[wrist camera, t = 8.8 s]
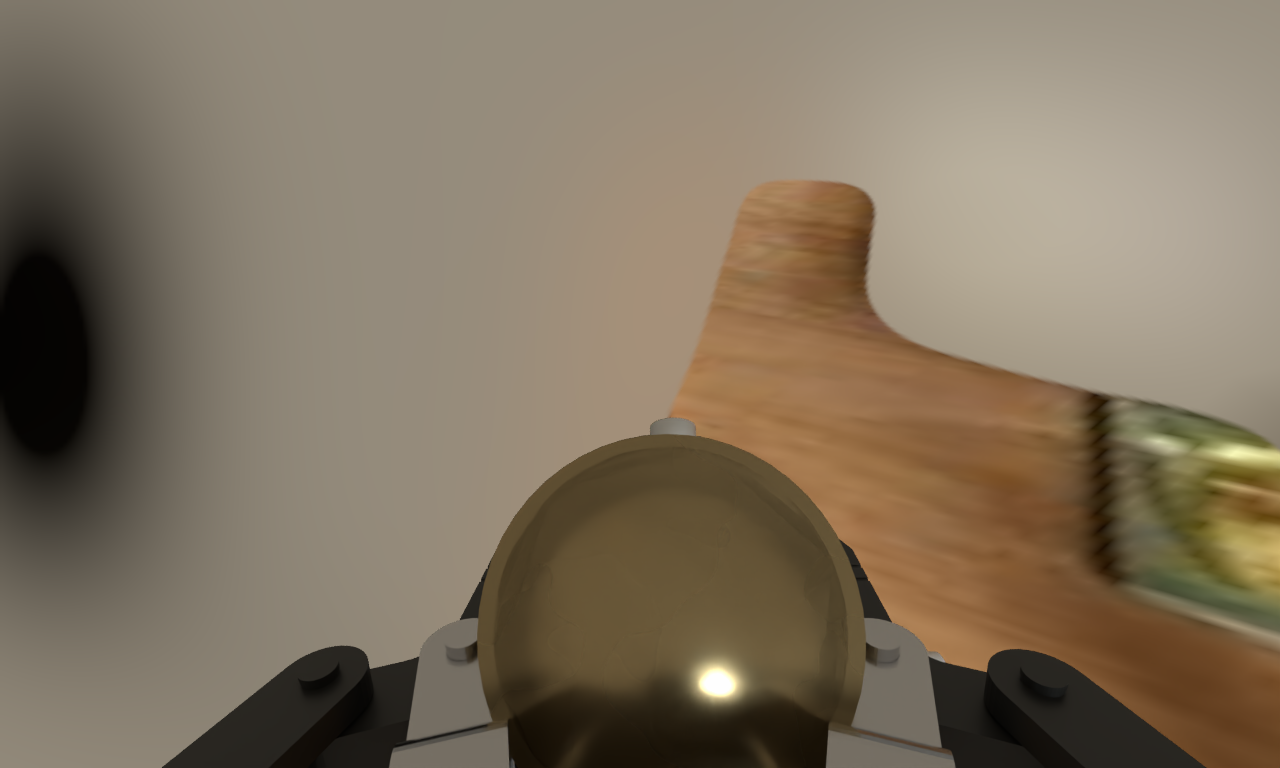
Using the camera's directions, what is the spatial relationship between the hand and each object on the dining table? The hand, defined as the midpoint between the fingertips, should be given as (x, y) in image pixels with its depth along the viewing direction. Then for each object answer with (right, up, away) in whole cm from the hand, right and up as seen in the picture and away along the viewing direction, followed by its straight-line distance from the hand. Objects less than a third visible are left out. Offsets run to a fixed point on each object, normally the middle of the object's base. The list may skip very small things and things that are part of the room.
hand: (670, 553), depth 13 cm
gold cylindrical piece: (0, -4, +3) cm, 5 cm away
